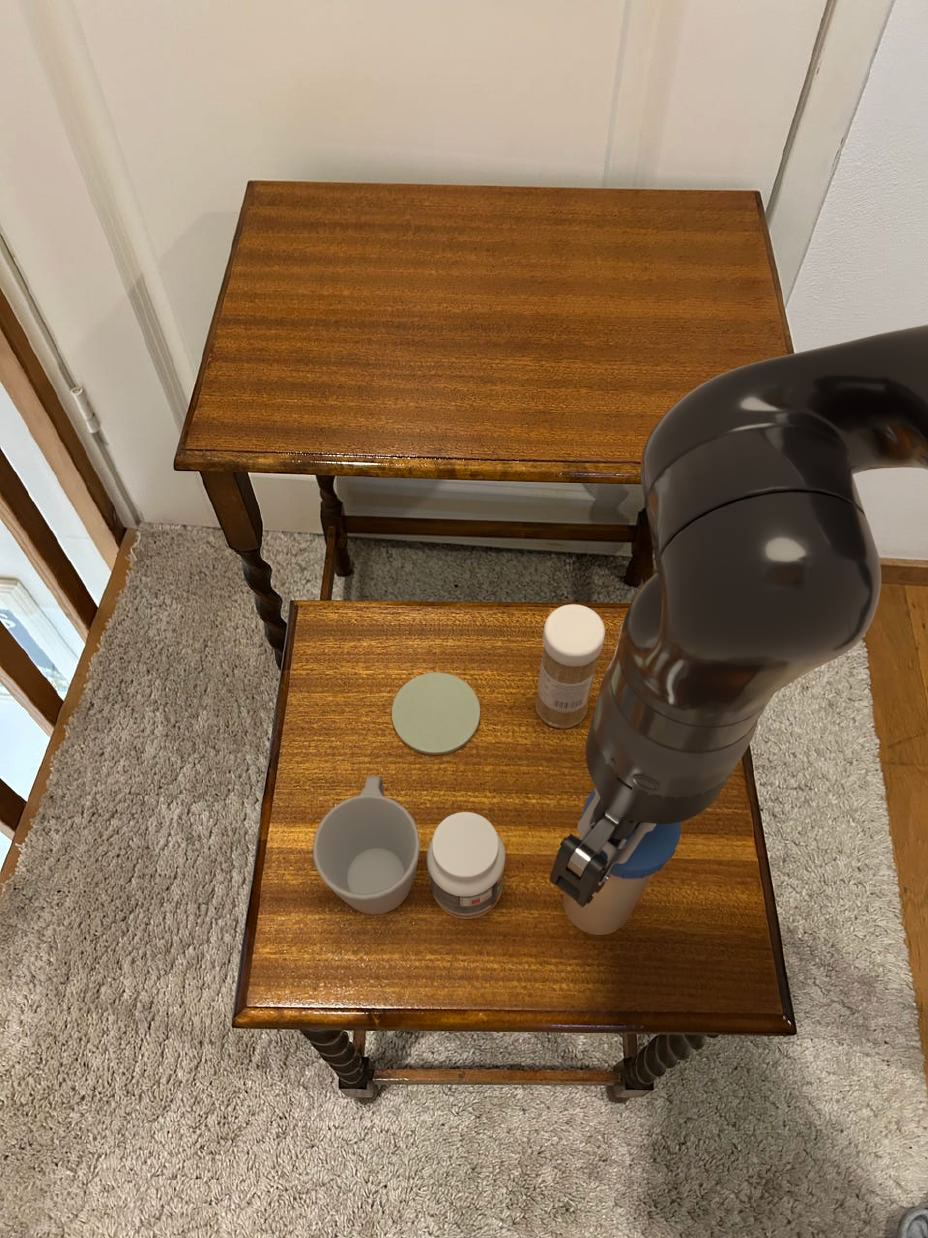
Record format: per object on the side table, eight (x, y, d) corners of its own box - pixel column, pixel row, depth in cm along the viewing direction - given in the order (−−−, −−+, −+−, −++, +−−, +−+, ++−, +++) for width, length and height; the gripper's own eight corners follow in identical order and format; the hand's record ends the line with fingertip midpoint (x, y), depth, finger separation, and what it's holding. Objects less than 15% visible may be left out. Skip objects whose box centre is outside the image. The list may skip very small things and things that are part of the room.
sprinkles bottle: (591, 690, 82) (611, 609, 70) (580, 736, 79) (599, 661, 68) (540, 678, 82) (551, 596, 71) (528, 723, 80) (538, 646, 69)
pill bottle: (514, 903, 72) (520, 866, 64) (445, 932, 71) (442, 898, 63) (486, 837, 75) (488, 792, 66) (419, 863, 74) (412, 821, 65)
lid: (575, 786, 60) (578, 775, 58) (669, 785, 60) (674, 774, 58) (583, 880, 57) (586, 871, 55) (681, 879, 57) (688, 870, 55)
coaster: (491, 689, 82) (491, 685, 81) (464, 766, 78) (464, 763, 78) (409, 665, 83) (409, 662, 83) (379, 740, 79) (378, 737, 79)
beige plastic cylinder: (638, 876, 73) (682, 797, 58) (623, 944, 71) (665, 880, 56) (571, 856, 74) (597, 773, 59) (554, 922, 71) (576, 853, 56)
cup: (323, 927, 71) (307, 898, 64) (334, 802, 77) (320, 762, 69) (423, 928, 71) (418, 900, 64) (427, 803, 76) (423, 763, 69)
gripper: (684, 590, 51) (639, 718, 65) (522, 782, 45) (511, 876, 59) (807, 668, 48) (733, 783, 62) (652, 881, 43) (608, 956, 56)
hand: (625, 829), depth 60 cm, fingers open, 8 cm apart
